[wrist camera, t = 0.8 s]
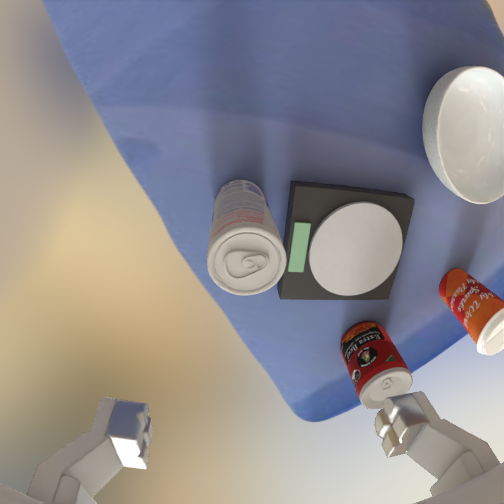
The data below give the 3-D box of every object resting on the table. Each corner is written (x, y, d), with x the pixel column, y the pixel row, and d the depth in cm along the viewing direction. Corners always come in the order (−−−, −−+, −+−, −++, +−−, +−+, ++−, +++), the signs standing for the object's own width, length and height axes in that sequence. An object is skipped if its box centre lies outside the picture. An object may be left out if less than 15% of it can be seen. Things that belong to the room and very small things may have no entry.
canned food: (372, 310, 43) (403, 361, 34) (391, 339, 46) (419, 387, 36) (329, 339, 45) (350, 394, 35) (352, 365, 48) (373, 416, 38)
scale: (291, 180, 35) (296, 186, 32) (405, 193, 36) (417, 200, 34) (277, 289, 41) (280, 302, 38) (381, 290, 42) (389, 301, 39)
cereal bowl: (426, 209, 37) (457, 228, 31) (383, 89, 31) (415, 87, 24) (503, 162, 35) (535, 174, 28) (473, 55, 28) (508, 54, 22)
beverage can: (204, 204, 35) (189, 265, 22) (239, 168, 34) (246, 208, 20) (240, 235, 37) (247, 311, 24) (275, 202, 36) (303, 262, 22)
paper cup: (456, 253, 41) (514, 302, 28) (475, 276, 43) (526, 324, 30) (424, 292, 43) (474, 349, 30) (446, 311, 45) (490, 365, 33)
